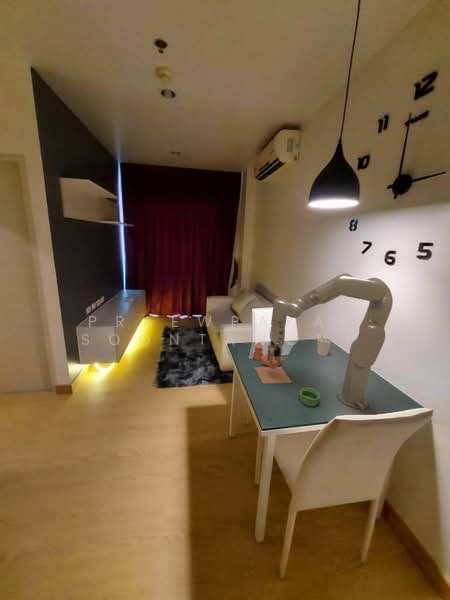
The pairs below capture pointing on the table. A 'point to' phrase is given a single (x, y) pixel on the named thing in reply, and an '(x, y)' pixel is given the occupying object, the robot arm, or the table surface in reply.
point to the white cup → (323, 346)
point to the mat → (272, 375)
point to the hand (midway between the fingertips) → (274, 352)
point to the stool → (270, 356)
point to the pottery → (264, 357)
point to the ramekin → (309, 396)
